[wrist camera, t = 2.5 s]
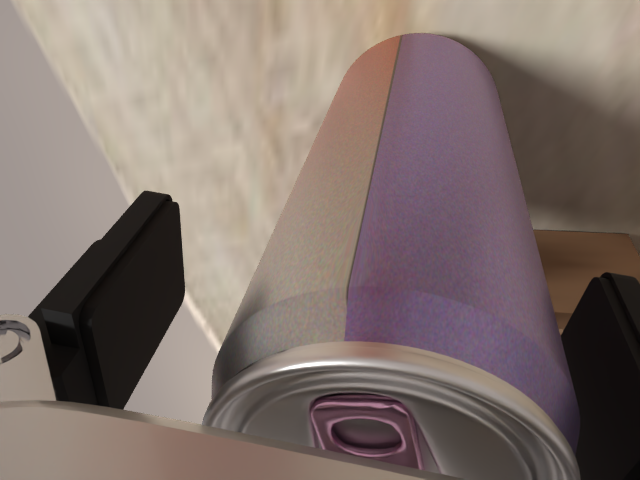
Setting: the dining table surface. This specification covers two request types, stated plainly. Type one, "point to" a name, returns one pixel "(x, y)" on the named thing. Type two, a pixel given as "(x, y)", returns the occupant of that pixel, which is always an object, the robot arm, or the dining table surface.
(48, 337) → the robot arm
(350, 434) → the beverage can
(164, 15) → the dining table surface
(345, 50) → the dining table surface
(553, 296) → the walnut box
